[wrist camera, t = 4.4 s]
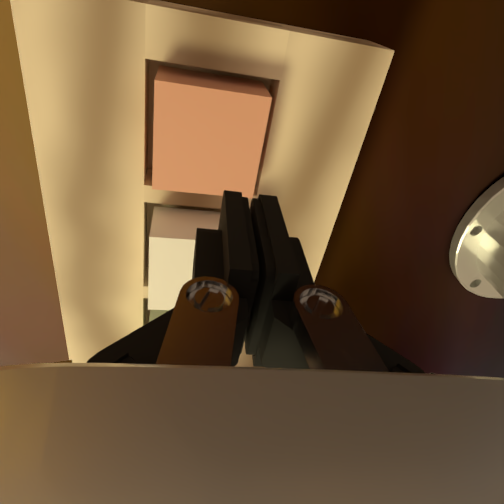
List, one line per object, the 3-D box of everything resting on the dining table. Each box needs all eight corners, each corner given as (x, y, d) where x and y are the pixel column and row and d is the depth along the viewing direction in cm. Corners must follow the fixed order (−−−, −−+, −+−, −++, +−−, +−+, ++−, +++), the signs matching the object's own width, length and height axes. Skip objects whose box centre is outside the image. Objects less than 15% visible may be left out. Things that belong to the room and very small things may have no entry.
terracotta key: (261, 81, 19) (272, 97, 17) (245, 173, 22) (252, 198, 19) (159, 65, 18) (154, 80, 16) (156, 163, 21) (152, 189, 18)
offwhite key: (242, 213, 22) (248, 243, 20) (230, 279, 25) (234, 312, 23) (154, 206, 21) (149, 236, 19) (152, 275, 24) (147, 309, 22)
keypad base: (370, 40, 20) (394, 50, 17) (275, 345, 33) (281, 375, 31) (33, -25, 16) (6, -23, 14) (81, 343, 30) (72, 375, 28)
